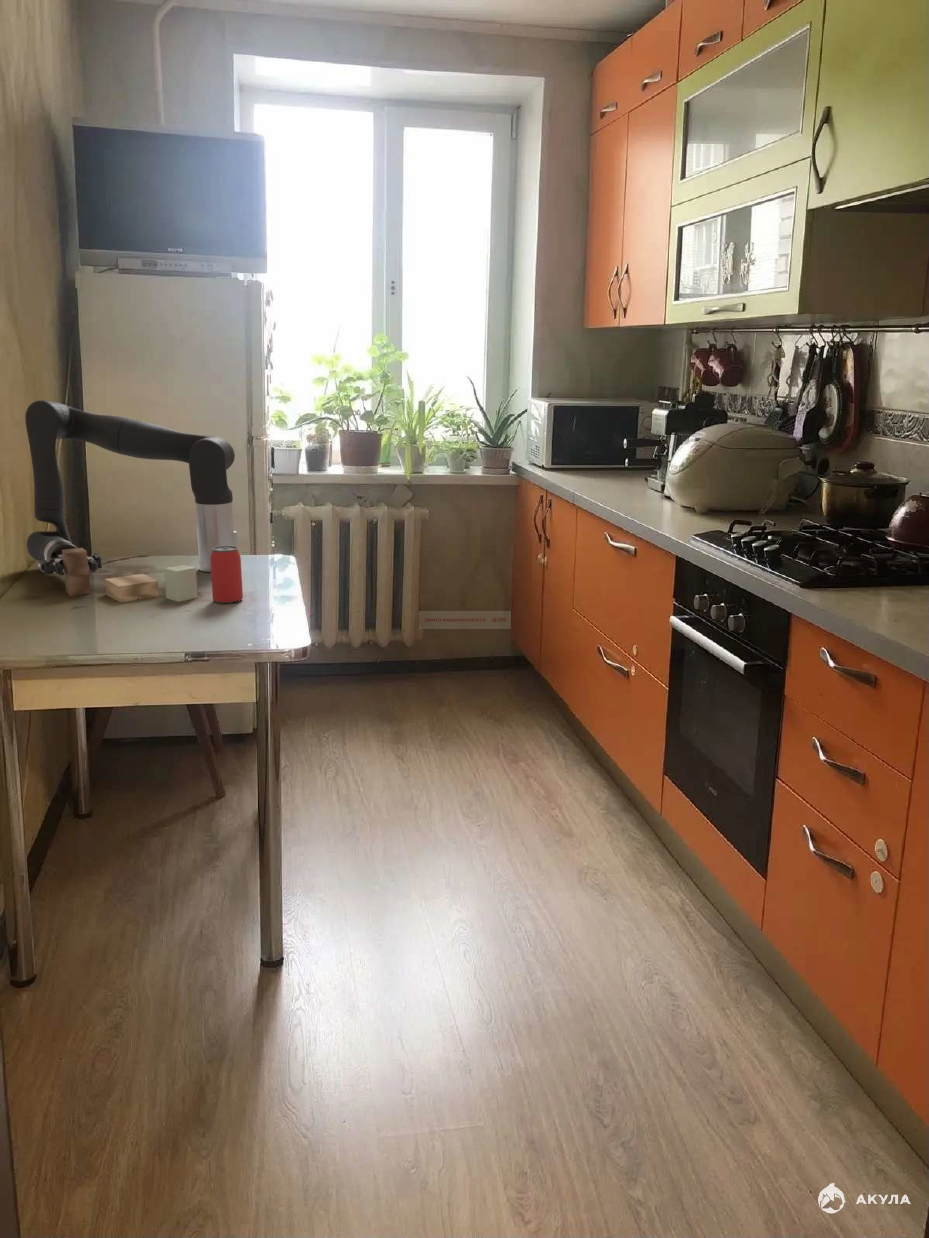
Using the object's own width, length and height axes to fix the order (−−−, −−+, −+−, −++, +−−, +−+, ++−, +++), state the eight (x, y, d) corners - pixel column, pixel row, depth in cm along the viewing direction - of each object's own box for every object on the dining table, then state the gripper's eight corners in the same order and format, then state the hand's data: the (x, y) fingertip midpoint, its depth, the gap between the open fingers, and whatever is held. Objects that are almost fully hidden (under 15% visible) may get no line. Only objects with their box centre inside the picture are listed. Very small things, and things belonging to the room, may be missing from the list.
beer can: (246, 597, 228) (244, 545, 225) (237, 604, 222) (234, 551, 219) (218, 596, 229) (215, 545, 226) (208, 603, 223) (205, 550, 219)
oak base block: (144, 590, 236) (143, 573, 235) (159, 597, 229) (157, 580, 228) (106, 595, 231) (104, 579, 230) (119, 603, 224) (118, 586, 223)
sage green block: (185, 594, 231) (183, 564, 229) (197, 597, 228) (195, 567, 226) (166, 598, 228) (164, 567, 226) (178, 601, 224) (176, 571, 223)
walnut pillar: (86, 589, 235) (82, 547, 232) (90, 593, 231) (86, 551, 229) (66, 592, 233) (61, 549, 230) (70, 596, 229) (65, 553, 226)
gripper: (29, 544, 237) (42, 556, 224) (92, 538, 245) (109, 549, 231) (32, 575, 239) (46, 589, 226) (95, 568, 247) (111, 581, 233)
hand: (77, 569), depth 228 cm, fingers open, 6 cm apart
